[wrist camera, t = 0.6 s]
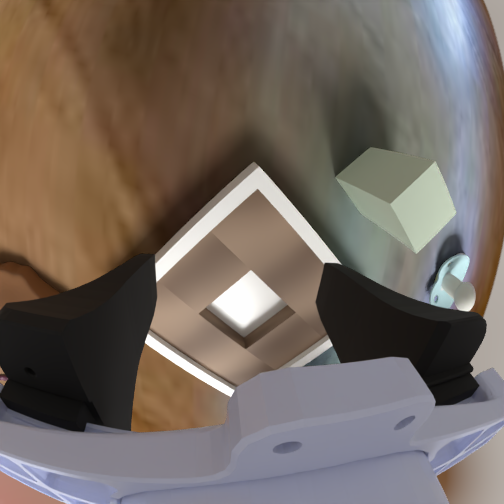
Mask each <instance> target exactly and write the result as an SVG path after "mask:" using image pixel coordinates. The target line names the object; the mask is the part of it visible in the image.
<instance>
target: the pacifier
mask: <svg viewBox="0 0 504 504" xmlns="http://www.w3.org/2000/svg"><path fill="white" fill-rule="evenodd" d="M468 265H469V257H468V256H466V255H465V254H463V253H458V254H457V255H455V256H452V257H451V258H449V259H448V260H446V261H445V262H444V263H443V264H442V266H441V267H440V269H439V272H438V273H437V276H436V279H435V282H434V285H433V287H432V289H431V292H430V297H429V302H430V304H431V305H435V306H439V307H443V308H448V309H449V308H450V306H451V305H452V303H453V301H455V305H456V307H457V308H458V309H459V310H461V311H469V310H471V308H472V307H473V305H474V302H475V289H474V287H473V285H472V284H471V283H469V282H464V283H463V282H462V281H463V278H464V276H465V274H466V271H467V268H468ZM436 295H437V300H436V301H435V302H434V298H435V296H436Z"/></svg>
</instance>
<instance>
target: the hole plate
mask: <svg viewBox="0 0 504 504" xmlns="http://www.w3.org/2000/svg"><path fill="white" fill-rule="evenodd" d="M323 268H324V264H323V262H322V261H321V260H320V259H319V258H318V256H317V255H316V254H315V253H314V252H313V251H312V249H311V248H310V247H309V246H308V245H307V244H306V242H305V241H304V240H303V239H302V238H301V237H300V235H299V234H298V233H297V232H296V231H295V230H294V229H293V227H292V226H291V225H290V224H289V223H288V222H287V221H286V219H285V218H284V217H283V216H282V215H281V214H280V213H279V212H278V210H277V209H276V208H275V207H274V206H273V205H272V204H271V203H270V202H269V200H268V199H267V198H266V197H265V196H264V195H263V194H262V193H261V192H260V190H259V189H257V190H256V191H254V192H253V193H252V194H251V195H250V196H249V197H248V198H247V199H245V200H244V201H243V202H242V203H241V204H240V205H239V206H238V207H236V208H235V209H234V210H233V211H232V212H231V213H230V214H229V215H228V216H226V217H225V218H224V219H223V220H222V221H221V222H220V223H219V224H218V225H217V226H216V227H214V228H213V229H212V230H211V231H210V232H209V233H208V234H207V235H206V236H205V237H204V238H203V239H201V240H200V241H199V242H198V243H197V244H196V245H195V246H194V247H193V248H192V249H191V250H190V251H189V252H188V253H187V254H185V255H184V256H183V257H182V258H181V259H180V260H179V261H178V262H177V263H176V264H175V265H174V266H173V267H172V268H171V269H170V270H169V271H168V272H167V273H166V274H165V275H164V276H163V277H162V278H161V279H159V280H158V281H157V282H156V284H157V302H156V307H155V312H154V317H153V320H152V323H151V326H150V329H149V330H151V331H152V332H153V333H155V334H156V335H157V336H159V337H160V338H161V339H163V340H164V341H166V342H167V343H168V344H170V345H171V346H173V347H174V348H176V349H177V350H178V351H180V352H181V353H183V354H184V355H186V356H187V357H189V358H190V359H192V360H193V361H195V362H196V363H198V364H199V365H201V366H203V367H204V368H206V369H207V370H209V371H210V372H212V373H214V374H215V375H217V376H218V377H220V378H222V379H223V380H225V381H227V382H228V383H230V384H232V385H233V386H235V387H237V386H239V385H241V384H243V383H244V382H246V381H248V380H250V379H251V378H253V377H255V376H256V375H258V374H260V373H263V372H268V371H273V370H277V369H279V368H280V367H282V366H283V365H285V364H286V363H288V362H289V361H291V360H292V359H294V358H295V357H297V356H298V355H300V354H301V353H302V352H304V351H305V350H307V349H308V348H310V347H311V346H312V345H314V344H315V343H317V342H318V341H319V340H321V339H322V338H323V337H325V336H326V335H327V333H326V330H325V328H324V326H323V324H322V322H321V320H320V316H319V313H318V310H317V306H316V303H315V301H316V297H317V293H318V289H319V285H320V281H321V277H322V273H323ZM250 270H251V271H252V272H254V273H255V274H256V275H257V276H258V277H259V278H260V279H261V280H262V281H263V282H264V283H265V284H266V285H267V286H268V287H269V288H270V289H271V290H272V291H274V292H275V293H276V294H277V295H278V296H279V297H280V298H281V299H282V300H283V301H284V302H285V303H286V304H287V306H285V307H284V308H283V309H281V310H280V311H279V312H278V313H276V314H275V315H274V316H272V317H271V318H270V319H268V320H267V321H266V322H264V323H263V324H262V325H260V326H259V327H258V328H256V329H255V330H254V331H252V332H251V333H249V334H248V335H247V336H245V337H243V336H241V335H240V334H239V333H237V332H236V331H235V330H233V329H232V328H231V327H230V326H228V325H227V324H226V323H224V322H223V321H222V320H221V319H219V318H218V317H217V316H216V315H214V314H213V313H212V312H211V311H209V310H208V309H207V308H206V307H207V306H208V305H210V304H211V303H212V302H213V301H214V300H216V299H217V298H218V297H219V296H220V295H222V294H223V293H224V292H225V291H226V290H228V289H229V288H230V287H231V286H232V285H234V284H235V283H236V282H237V281H238V280H240V279H241V278H242V277H243V276H244V275H246V274H247V273H248V272H249V271H250Z"/></svg>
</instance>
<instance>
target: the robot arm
mask: <svg viewBox="0 0 504 504" xmlns="http://www.w3.org/2000/svg"><path fill="white" fill-rule="evenodd" d="M156 302H157V284H156V267H155V254H139V255H137V256H135V257H133V258H132V259H130V260H128V261H127V262H125V263H123V264H122V265H120V266H119V267H117V268H115V269H114V270H112V271H110V272H108V273H106V274H105V275H103V276H101V277H99V278H97V279H95V280H93V281H91V282H89V283H87V284H85V285H82V286H80V287H77V288H75V289H72V290H69V291H66V292H63V293H60V294H56V295H53V296H49V297H44V298H40V299H34V300H28V301H20V302H10V303H6V304H5V305H4V306H3V307H2V309H1V310H0V366H1V368H2V370H3V372H4V373H5V375H6V377H7V378H8V380H7V381H6V383H5V385H4V386H3V385H2V384H1V383H0V471H2V472H3V473H5V474H7V475H9V476H11V477H12V478H14V479H16V480H18V481H20V482H22V483H23V484H25V485H27V486H29V487H31V488H33V489H35V490H37V491H39V492H41V493H44V494H46V495H48V496H50V497H52V498H55V499H57V500H59V501H62V502H64V503H67V504H449V502H448V500H447V497H446V495H445V493H444V491H443V489H442V487H441V485H440V483H439V481H438V478H437V477H436V476H437V475H439V474H440V473H442V472H443V471H445V470H447V469H448V468H450V467H452V466H453V465H455V464H456V463H458V462H459V461H461V460H463V459H464V458H466V457H467V456H468V455H470V454H472V453H473V452H474V451H476V450H477V449H479V448H480V447H481V446H483V445H485V444H486V443H487V442H488V441H489V440H490V439H491V438H492V437H493V436H494V435H495V434H496V433H497V432H498V431H499V430H500V429H501V428H502V427H503V426H504V380H503V379H502V378H501V377H500V376H499V374H498V373H497V372H496V371H495V370H494V368H490V369H488V370H486V371H484V372H481V373H480V374H478V375H477V376H476V377H475V378H474V377H473V376H472V375H471V374H470V373H471V372H472V371H473V367H472V366H471V364H470V361H471V360H472V358H473V357H474V355H475V353H476V351H477V350H478V348H479V346H480V345H481V343H482V341H483V339H484V336H485V333H486V326H487V324H486V321H485V319H483V317H482V316H481V315H480V314H478V313H476V312H469V311H461V310H453V309H448V308H443V307H439V306H435V305H431V304H427V303H424V302H421V301H418V300H415V299H412V298H409V297H407V296H404V295H402V294H399V293H397V292H395V291H392V290H390V289H388V288H386V287H384V286H382V285H380V284H378V283H376V282H374V281H373V280H371V279H369V278H367V277H365V276H363V275H362V274H360V273H358V272H356V271H354V270H352V269H350V268H348V267H346V266H344V265H342V264H339V263H325V264H324V268H323V273H322V277H321V281H320V285H319V289H318V293H317V297H316V301H315V303H316V306H317V310H318V313H319V316H320V320H321V322H322V324H323V326H324V328H325V330H326V333H327V335H328V337H329V339H330V341H331V343H332V345H333V347H334V349H335V351H336V353H337V356H338V358H339V360H340V364H330V365H319V366H305V367H287V368H282V369H278V370H273V371H268V372H263V373H260V374H258V375H256V376H255V377H253V378H251V379H250V380H248V381H246V382H244V383H243V384H241V385H239V386H237V387H236V389H235V391H234V392H233V394H232V396H231V398H230V400H229V401H228V406H227V418H226V421H225V424H221V425H214V426H208V427H200V428H192V429H183V430H173V431H160V432H141V433H139V432H133V431H131V419H132V407H133V398H134V390H135V383H136V376H137V370H138V365H139V361H140V357H141V353H142V350H143V347H144V344H145V341H146V338H147V335H148V332H149V329H150V326H151V323H152V320H153V317H154V312H155V307H156Z"/></svg>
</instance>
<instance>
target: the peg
mask: <svg viewBox="0 0 504 504" xmlns="http://www.w3.org/2000/svg"><path fill="white" fill-rule="evenodd" d="M335 178H336V179H337V181H338V182H339V184H340V185H341V186H342V188H343V189H344V191H345V192H346V193H347V195H348V196H349V198H350V199H351V201H352V202H353V203H354V205H355V206H356V208H357V209H358V211H359V212H360V214H361V215H363V216H364V217H366V218H367V219H369V220H370V221H372V222H373V223H375V224H376V225H377V226H379V227H380V228H382V229H383V230H385V231H386V232H387V233H389V234H390V235H392V236H393V237H394V238H396V239H397V240H399V241H400V242H401V243H403V244H404V245H405V246H407V247H408V248H409V249H411V250H412V251H413V252H415V253H416V254H417V253H418V252H419V251H420V250H421V249H422V248H423V247H424V246H425V245H426V244H427V243H428V242H429V241H430V240H431V239H432V238H433V237H434V236H435V235H436V234H437V233H438V232H439V231H440V230H441V229H442V228H443V227H444V226H445V225H446V224H447V223H448V222H449V221H450V220H451V218H452V217H453V216H454V215H455V214H456V210H455V208H454V205H453V202H452V200H451V197H450V194H449V192H448V189H447V187H446V184H445V182H444V180H443V177H442V175H441V173H440V170H439V168H438V166H437V164H436V162H435V161H432V160H429V159H424V158H420V157H416V156H412V155H407V154H403V153H398V152H393V151H388V150H383V149H378V148H372V147H370V148H369V149H367V150H366V151H365V152H364V153H363V154H362V155H360V156H359V157H358V158H357V159H356V160H354V161H353V162H352V163H351V164H350V165H349V166H347V167H346V168H345V169H344V170H343V171H342V172H340V173H339V174H338V175H337V176H336V177H335Z"/></svg>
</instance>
